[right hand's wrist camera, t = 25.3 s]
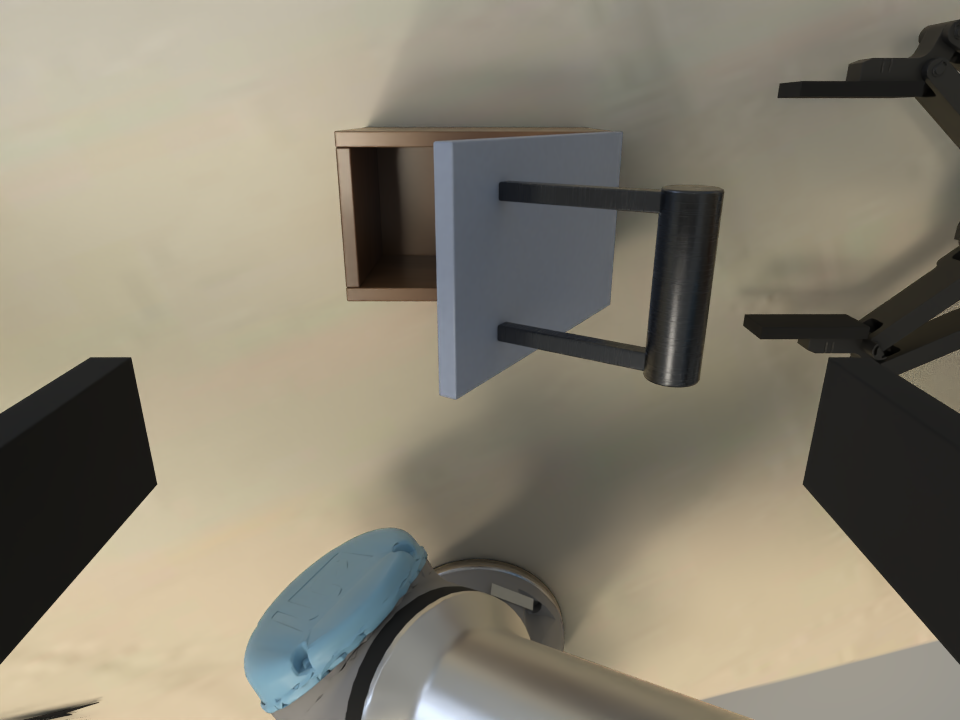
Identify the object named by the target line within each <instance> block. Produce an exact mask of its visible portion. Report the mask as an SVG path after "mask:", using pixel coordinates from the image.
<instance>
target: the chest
mask: <svg viewBox="0 0 960 720" xmlns="http://www.w3.org/2000/svg"><path fill="white" fill-rule="evenodd" d="M592 132H613V131H606V130H599V129H591V128H586V127H365V128H358V129H350V130H341V131H335V132H334V133H335V146H336V147H337V148H336V158H337V171H338V184H339V198H340V211H341V224H342V238H343V251H344V264H345V277H346V287H347V288H346V291H347V300H348V301H437V271H436V229H435V188H434V146H433V143H434V142H435V141H448V140H466V139H484V138H502V137H520V136H538V135H556V134H574V133H592Z"/></svg>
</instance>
